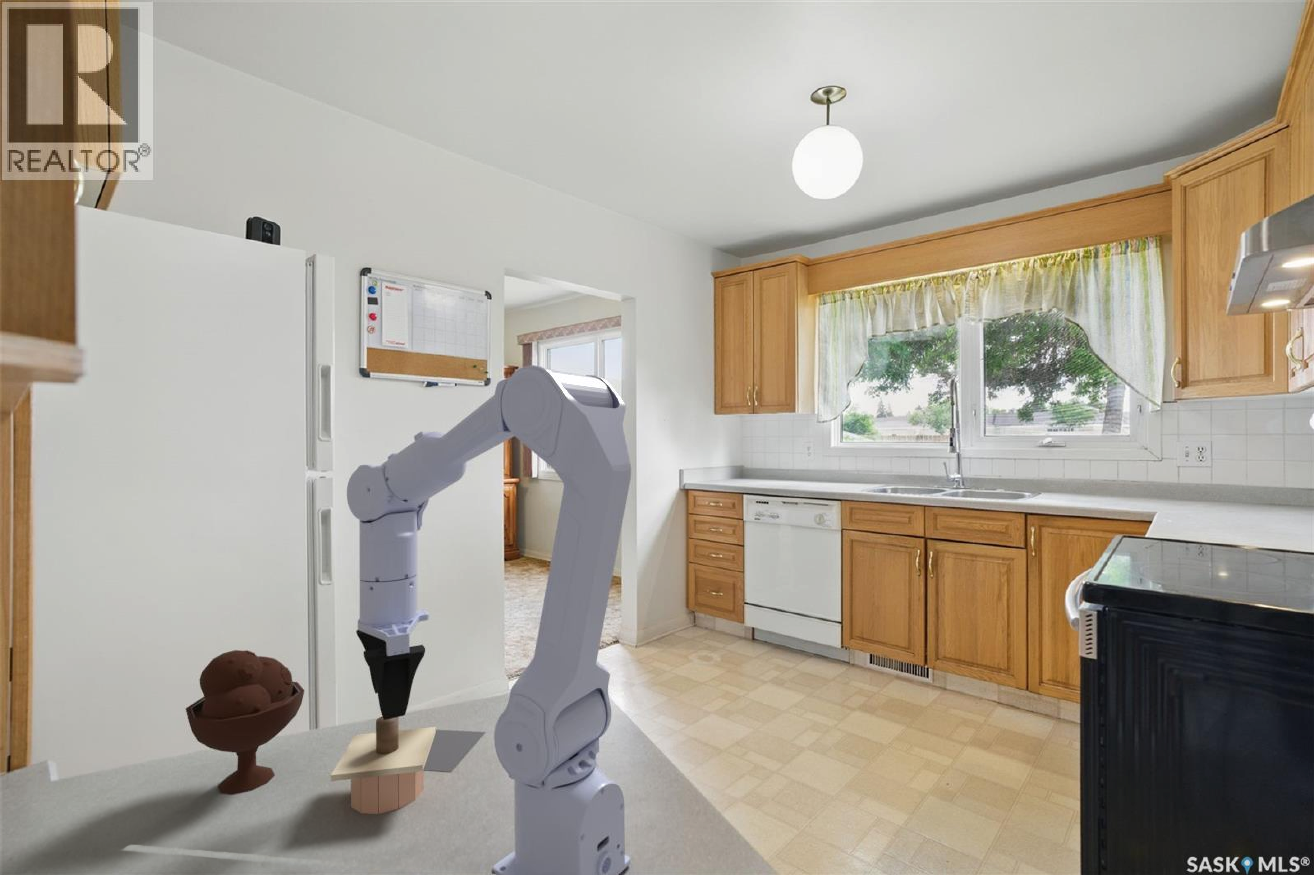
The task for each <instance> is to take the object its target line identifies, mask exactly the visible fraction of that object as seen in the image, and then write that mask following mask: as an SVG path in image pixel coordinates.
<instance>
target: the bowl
mask: <svg viewBox="0 0 1314 875" xmlns="http://www.w3.org/2000/svg"><path fill="white" fill-rule="evenodd" d="M423 791H424V771H419V772H410V773H401V774H392V775H383V776H374V777H365V778H357V779H350V807H351V808H352V809H353V810H354V811H356V812H358V813H360V814H371V815H372V814H373V815H378V814H384V813H388V812H392V811H396V810H399V809H401V808H403V807H405V806H407V805H409V804H411V803H412V802H414V801H416V800H417V799H418V797H419V796H420V795H421V794H422V793H423Z"/></svg>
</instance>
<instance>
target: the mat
mask: <svg viewBox="0 0 1314 875" xmlns="http://www.w3.org/2000/svg"><path fill="white" fill-rule="evenodd" d="M485 733H486V731H473V730H471V731H468V730H454V729H453V730H451V729H450V730H448V729H436V733H435V736H434V739H433V742H432V745H431V748H430V751H429V754H428V757H427V760H426V763H425V766H424V769H423V772H424V771H426V772H427V771H428V772H439V773H440V772H442V773H443V772H444V773H452V772H453V771H454V769H456V768H457V766H458V765H459V764H460V763H461V761H463V759H464V758H465V757H466V755H468V753H469V752H471V750H472V749H473V748H474V747H475V745H476V744H477V743H478V742H479V741H480V739H481V738H482V737H483V736H484V735H485Z"/></svg>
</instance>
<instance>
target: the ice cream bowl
mask: <svg viewBox="0 0 1314 875" xmlns="http://www.w3.org/2000/svg"><path fill="white" fill-rule="evenodd" d="M199 677H200V678H199V687H200V690H201V692H202V693H203V697H201V698H199V699H198V700H196V701H195V702H193V703H192V704H190V705H189V706H187V707H185V712H186V716H187V719H188V723H189V727H190V730H191V733H192V734H193V735H194V737H195V739H196V740H197V742H199V743H201V745H204V746H206V747H207V748H209V749H213V750H216V751H220V752H225V753H226V752H227V753H235V754H236V756H237V769H236V770H235V771H233V772H232V773H230V774H229V775H227V776H226V777H225V778H224V779H223V780H222V781H221V782H219V783H218V785H217V789H218V792H219V793H220V794H224V795H225V794H226V795H237V794H242V793H247V792H251V791H254V790H256V789H258V788H260V787H262V786H265V785H267V784H268V783H269V782H270V781H271V780H272V779H273V778H274V777H275V772H274V770H273V768H272V767H268V766H263V765H257V751H258V749H259V747H260V746H262V745H265V744H267V743H268V742H270V741H271V740H272V739H274V738H275V737H276V736H278V734H279V733H281V731H283V730H284V729H285V728H286V727H287V726H288V725H289V724H290V722H291V721H292V720H293V719H294V718H295V717H296V716H297V714H298V712H299V710H300V708H301V706H302V703H303V699H304V694H305V689H304V688H303V687H302V686H301V684H300V683H299V682H298V681H293V676H292V672H291V671H290V669H289V668H288V667H286V666H285V665H284V664H283V663H282V662H280V660H278V659H276V658H274V657H268V656H261V655H259V656H258V655H257V654H255V652H252V651H250V650H248V649H247V650H236V649H235V650H231V651H227V652H223V653H222V654H219V655H217V656H216V657H214V658H212V660H210V662H209V663H208V664H207V666H206V667H204V669H203V670H202V672H201V674H200V676H199Z"/></svg>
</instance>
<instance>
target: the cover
mask: <svg viewBox="0 0 1314 875" xmlns="http://www.w3.org/2000/svg"><path fill="white" fill-rule="evenodd" d="M436 730H437V727H436V726H430V727H422V728H421V727H420V728H411V729H400V730H399V717H396V718H391V719H386V720H384V719H383V716H382V715H381V716H380V717H378V718H377V719H376V720H375V732H371V733H370V732H368V733H360V734H355V735H354V736H353V738H352V739H351V741H350V743H349V745H348V746H347V748H346V749H345V751H344V752H343V754H342V756H341V758H340V759H339V761H338V763H337V764H336V766H335V768H334V770H332V772H331V774H330V782H336V781H337V782H338V781H346V780H347V781H348V780H351V779H357V778H365V777H374V776H383V775H392V774H401V773H410V772H419V771H423V769H424V766H425V763H426V760H427V757H428V754H429V751H430V748H431V745H432V742H433V739H434V736H435V733H436ZM423 772H424V771H423Z"/></svg>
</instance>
